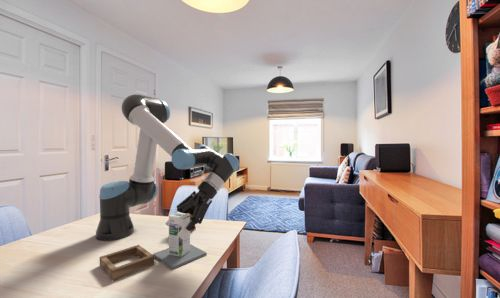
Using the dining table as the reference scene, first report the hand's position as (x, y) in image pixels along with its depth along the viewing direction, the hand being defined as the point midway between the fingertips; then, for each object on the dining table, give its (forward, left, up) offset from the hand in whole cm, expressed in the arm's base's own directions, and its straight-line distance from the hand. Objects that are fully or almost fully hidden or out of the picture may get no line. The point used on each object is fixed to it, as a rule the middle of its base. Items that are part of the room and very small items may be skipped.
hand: (173, 231), depth 86 cm
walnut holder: (-7, -14, -9) cm, 18 cm away
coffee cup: (-20, +19, -10) cm, 29 cm away
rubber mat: (0, +2, -9) cm, 10 cm away
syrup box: (0, +2, -9) cm, 9 cm away
